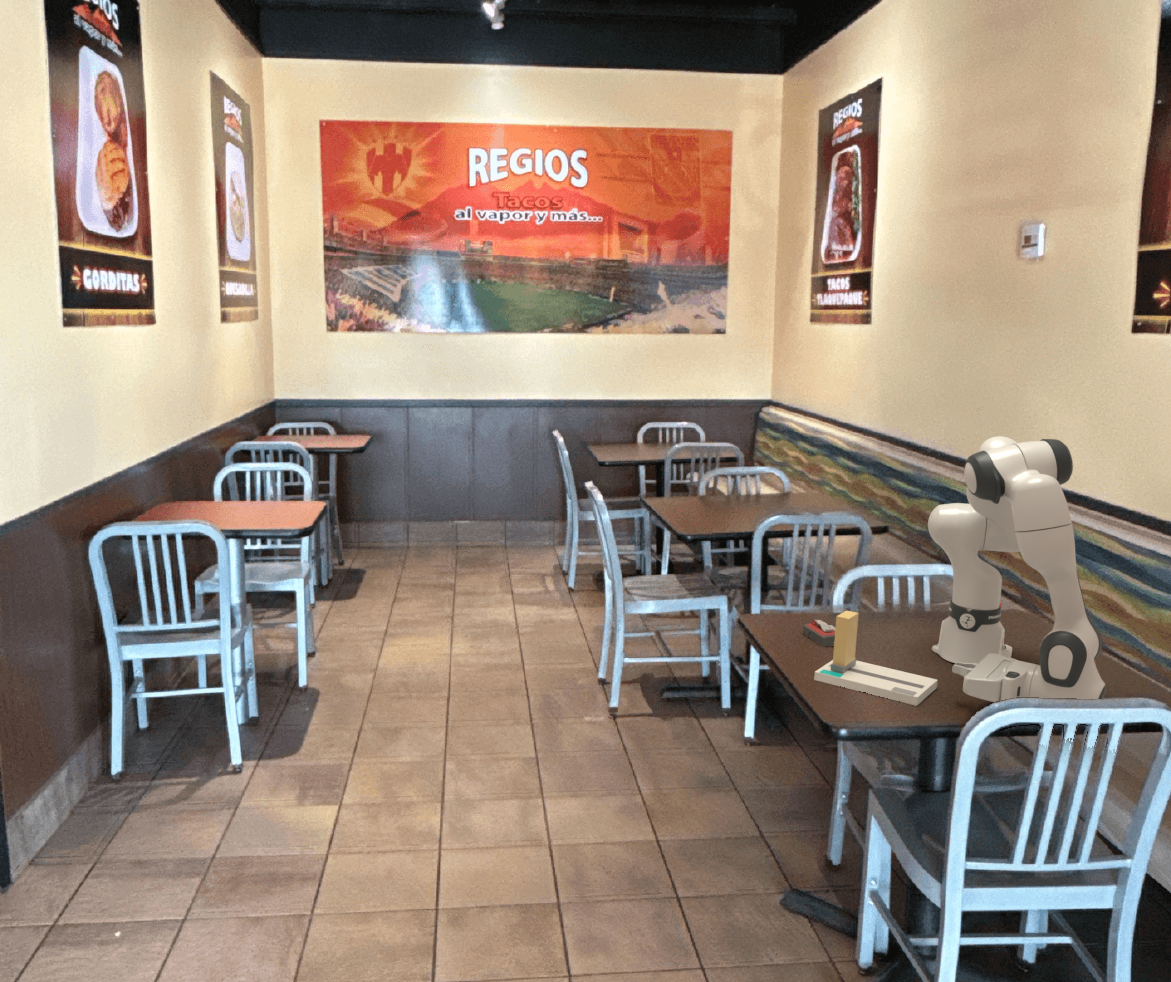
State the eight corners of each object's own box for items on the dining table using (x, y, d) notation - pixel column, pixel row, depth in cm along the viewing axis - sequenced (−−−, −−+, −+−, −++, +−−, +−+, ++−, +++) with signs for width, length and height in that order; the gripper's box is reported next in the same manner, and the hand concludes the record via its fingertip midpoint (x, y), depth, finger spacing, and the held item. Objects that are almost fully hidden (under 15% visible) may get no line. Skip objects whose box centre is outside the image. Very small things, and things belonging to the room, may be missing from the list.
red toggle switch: (855, 648, 266) (816, 624, 285) (856, 631, 266) (818, 608, 284) (824, 650, 264) (787, 625, 283) (825, 633, 263) (788, 610, 282)
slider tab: (843, 661, 249) (848, 609, 246) (855, 664, 247) (860, 612, 244) (830, 670, 242) (834, 617, 240) (842, 673, 240) (847, 619, 238)
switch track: (837, 664, 253) (838, 655, 252) (936, 688, 239) (937, 679, 239) (814, 680, 242) (814, 671, 241) (916, 706, 228) (917, 697, 228)
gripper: (1033, 654, 229) (969, 641, 237) (1009, 681, 213) (941, 665, 221) (1030, 681, 230) (966, 667, 238) (1005, 710, 214) (938, 694, 222)
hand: (954, 666), depth 229 cm, fingers closed
